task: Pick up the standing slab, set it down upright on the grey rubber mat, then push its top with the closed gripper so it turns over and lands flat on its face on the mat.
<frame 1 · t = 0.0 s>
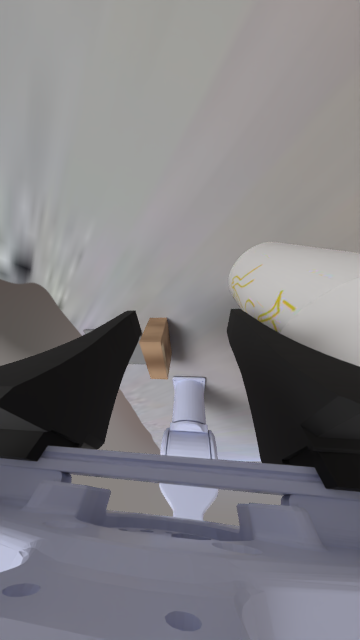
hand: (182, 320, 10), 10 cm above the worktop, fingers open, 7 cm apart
slab: (162, 336, 25), on the worktop
cup: (259, 276, 18), on the worktop
mat: (120, 347, 27), on the worktop
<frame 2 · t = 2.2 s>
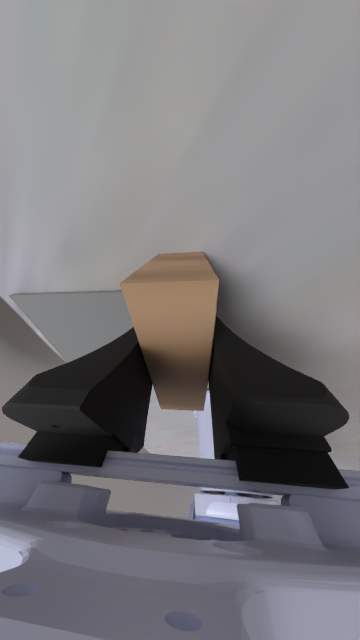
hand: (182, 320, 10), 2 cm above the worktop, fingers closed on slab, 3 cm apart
slab: (183, 310, 11), on the worktop, touching gripper
mat: (96, 335, 14), on the worktop
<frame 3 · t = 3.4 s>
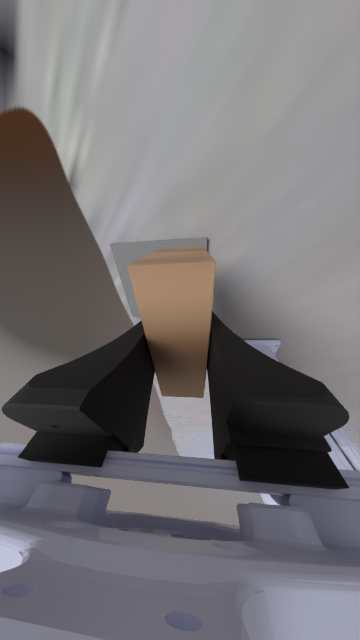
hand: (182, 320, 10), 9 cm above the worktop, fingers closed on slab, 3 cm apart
slab: (183, 303, 12), point 6 cm above the worktop, touching gripper
mat: (163, 283, 17), on the worktop
when the fingers open (3 cm above the worktop, at t = 4.8 s): slab stays where it is, resting on mat.
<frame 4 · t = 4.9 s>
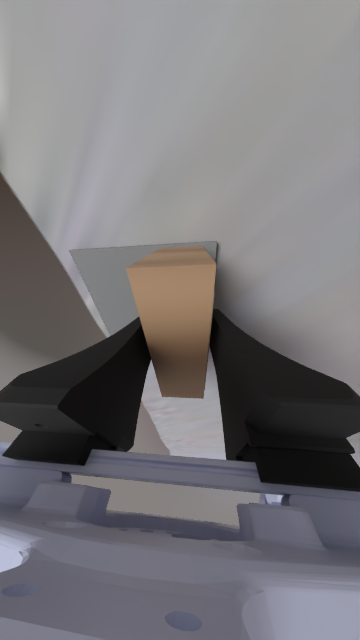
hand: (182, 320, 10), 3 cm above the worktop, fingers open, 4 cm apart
slab: (183, 303, 12), resting on mat
mat: (152, 305, 12), on the worktop
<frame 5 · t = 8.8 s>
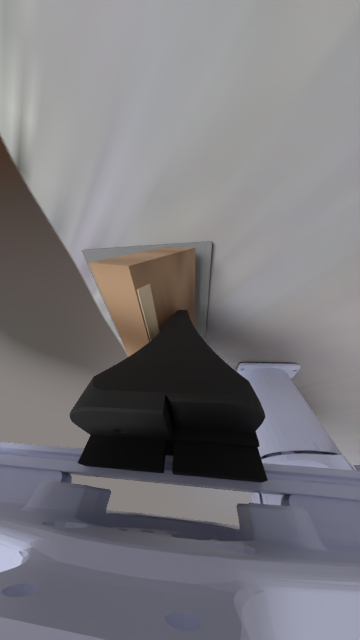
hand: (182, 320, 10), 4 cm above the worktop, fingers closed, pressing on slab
slab: (180, 300, 12), point 1 cm above the worktop, tilted 27°, touching gripper, mat
mat: (155, 299, 14), on the worktop
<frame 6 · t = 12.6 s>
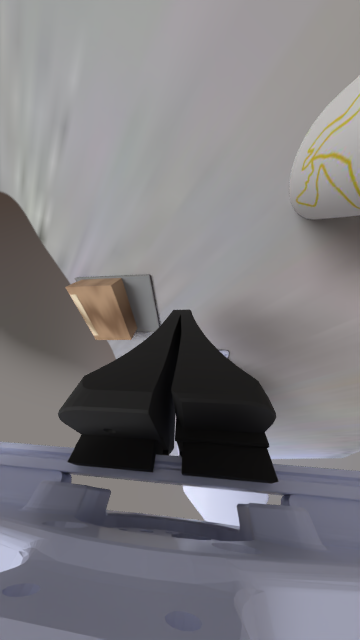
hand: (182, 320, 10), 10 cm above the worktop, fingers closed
slab: (126, 310, 19), point 2 cm above the worktop, tilted 89°, touching mat
cup: (340, 161, 11), on the worktop
mat: (123, 306, 21), on the worktop
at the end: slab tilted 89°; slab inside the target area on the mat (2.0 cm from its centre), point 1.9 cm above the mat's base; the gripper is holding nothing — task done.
